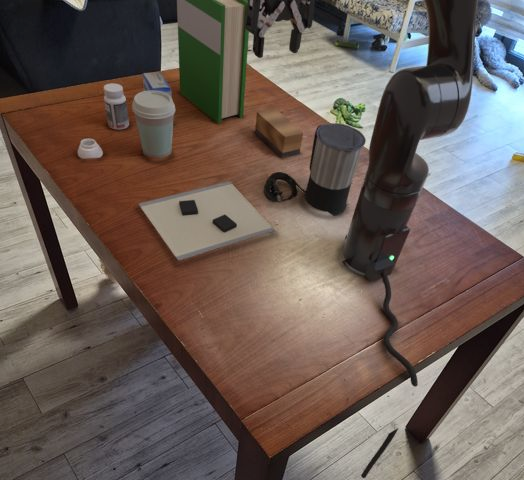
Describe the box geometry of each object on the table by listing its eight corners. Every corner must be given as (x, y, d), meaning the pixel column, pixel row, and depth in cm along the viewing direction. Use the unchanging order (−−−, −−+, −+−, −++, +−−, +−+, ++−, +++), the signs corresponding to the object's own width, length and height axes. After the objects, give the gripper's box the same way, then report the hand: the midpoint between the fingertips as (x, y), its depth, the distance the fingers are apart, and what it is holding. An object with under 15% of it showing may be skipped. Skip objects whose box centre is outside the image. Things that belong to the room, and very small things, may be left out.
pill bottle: (131, 121, 110) (127, 84, 103) (126, 131, 107) (121, 93, 100) (111, 118, 110) (105, 80, 103) (105, 128, 107) (99, 90, 100)
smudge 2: (236, 227, 88) (236, 223, 87) (224, 233, 87) (224, 229, 86) (224, 217, 90) (225, 214, 89) (212, 223, 88) (212, 219, 87)
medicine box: (145, 111, 114) (141, 72, 107) (163, 109, 115) (160, 71, 108) (154, 127, 109) (151, 88, 103) (173, 125, 111) (171, 86, 104)
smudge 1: (198, 214, 89) (198, 210, 89) (182, 215, 89) (182, 212, 88) (194, 203, 91) (194, 199, 91) (179, 204, 90) (179, 201, 90)
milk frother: (355, 211, 97) (376, 142, 86) (293, 231, 91) (306, 160, 79) (315, 175, 104) (330, 107, 92) (255, 191, 98) (262, 120, 86)
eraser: (299, 153, 109) (303, 132, 105) (281, 157, 107) (284, 136, 103) (272, 129, 115) (274, 108, 111) (254, 132, 113) (256, 111, 109)
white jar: (80, 163, 98) (105, 160, 99) (77, 149, 95) (102, 147, 97) (76, 150, 100) (100, 148, 102) (73, 137, 98) (98, 134, 99)
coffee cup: (182, 163, 101) (180, 107, 92) (142, 168, 99) (136, 110, 89) (171, 143, 106) (168, 87, 96) (133, 147, 103) (126, 90, 94)
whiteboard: (274, 235, 90) (275, 230, 89) (178, 265, 82) (178, 260, 81) (229, 186, 98) (229, 180, 97) (138, 209, 90) (138, 203, 89)
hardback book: (242, 117, 117) (250, 2, 98) (218, 123, 114) (221, 6, 95) (204, 87, 125) (204, -25, 106) (180, 92, 121) (176, -22, 102)
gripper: (265, -40, 78) (256, 66, 91) (332, -43, 84) (314, 57, 96) (242, -53, 82) (236, 50, 94) (308, -55, 87) (294, 43, 100)
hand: (276, 54), depth 95 cm, fingers open, 8 cm apart
